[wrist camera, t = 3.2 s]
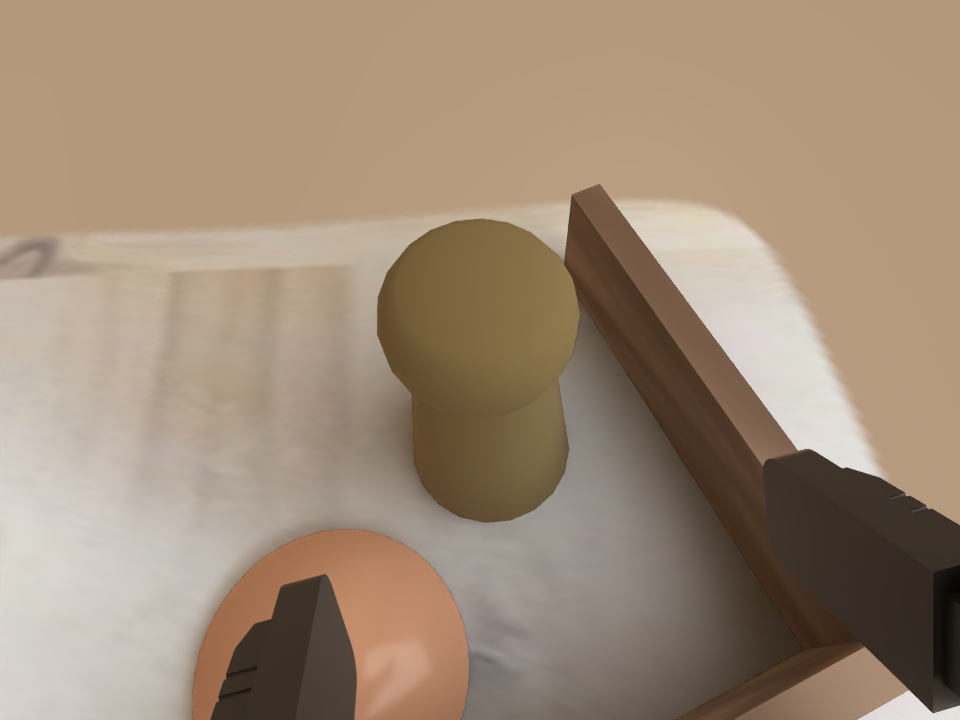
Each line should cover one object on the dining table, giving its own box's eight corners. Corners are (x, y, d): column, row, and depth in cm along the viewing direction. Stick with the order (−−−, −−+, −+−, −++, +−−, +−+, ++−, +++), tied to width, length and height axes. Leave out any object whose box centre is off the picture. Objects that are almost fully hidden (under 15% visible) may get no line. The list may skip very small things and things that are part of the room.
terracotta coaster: (233, 898, 18) (226, 903, 18) (176, 597, 22) (169, 595, 22) (515, 750, 19) (514, 751, 19) (411, 492, 23) (409, 489, 23)
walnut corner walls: (200, 1037, 17) (87, 1158, 12) (108, 456, 25) (21, 405, 20) (859, 670, 20) (956, 663, 16) (586, 264, 28) (599, 184, 24)
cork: (464, 554, 22) (424, 445, 13) (386, 423, 25) (304, 249, 15) (600, 467, 24) (659, 307, 14) (513, 351, 26) (511, 148, 17)
